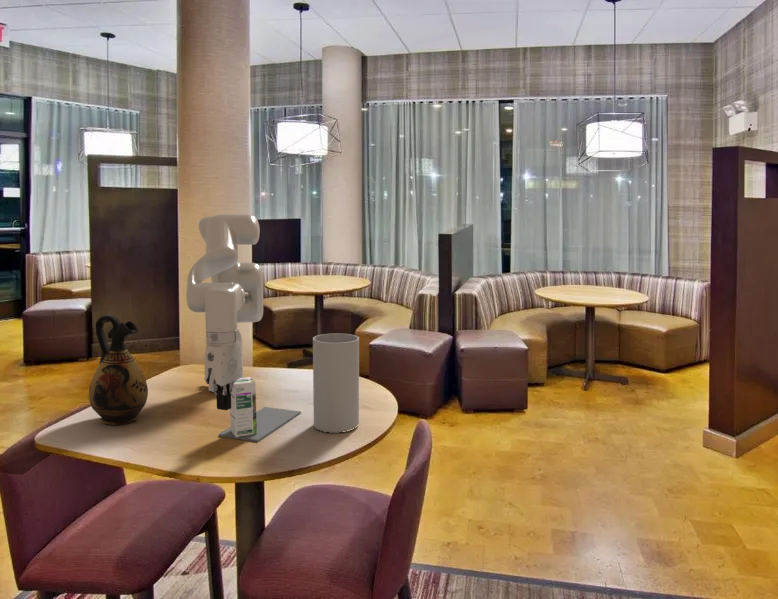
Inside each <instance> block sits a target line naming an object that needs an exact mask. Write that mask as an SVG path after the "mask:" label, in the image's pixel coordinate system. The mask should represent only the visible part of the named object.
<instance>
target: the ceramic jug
mask: <svg viewBox="0 0 778 599" xmlns="http://www.w3.org/2000/svg"><path fill="white" fill-rule="evenodd" d="M107 323H111V325H112V327H111V329H110V330H109V331H108V332H107V337H106V333H105V331H104V325H105V324H107ZM94 326H95V327H94V328H95V334H96V337H97V341H98V344H99V347H100V349H101V356H100V359H99V364H98V366H97V368H96V369H95V372H94V373H93V376H92V378H91V381H90V385H89V388H88V389H89V390H88V400H89V404H90V406H91V409H92V410H93V411H94V412H95V413H96V414H97V415H99V417H100V421H101V423H103V424H104V425H108V426H113V427H114V426H115V427H119V426H122V425H129V424H132V423H135V422H136V420H137V419H138V415H139V413H141V411H142V410H143V408H144V407H145V405H146V404H147V400H148V396H149V388H148V383H147V379H146V375H145V374H144V371H143V370H142V368H141V366H140V365H139V363H138V362H137V360H136V359H135V357H133V355H132V354H131V353H130V351H129V350H128V349H127V347H126V345H125V339H127V338H129V337H131V336H134V335H136V334H138V333H139V332H140V330H139V328H138V327H137V325H136V324H135V323H134V322H133V321H131V320H129V321H127V322H124V321H122V322H121V321H120V319H119V318H118V317H117V316H115V315H113V314H107V313H106V314H104V315H102V316H100V317H98V319H97V320H96V322H95V325H94ZM107 338H108V339H111V344H110V347H109V344H108V342H107Z"/></svg>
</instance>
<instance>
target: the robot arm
mask: <svg viewBox="0 0 778 599" xmlns="http://www.w3.org/2000/svg"><path fill="white" fill-rule="evenodd" d="M198 230H199V234H200V236H201V238H202V239H203V241H204V242H205V254H204V255H203V256H200V258H199V259H197V261H196V262H194V264H193V265H192V266H191V268H190V270H189V272H188V275H187V280H186V290H185V291H186V293H185V294H186V295H185V296H186V299H185V300H186V304H187V307H188V309H189V310H190V311H191V312H194V313H204V315H205V316H204V317H205V339H206V342H205V343H206V345H205V355H204V377H203V378H204V381H205V383H206V384H207V385H208V391H209V392H212V393H214V394H215V395H216V409H217V410H219V411H220V410H223V411H230V409H231V392H232V386H233V383H235V382H236V381H237V380H238V379H239V378H244V372H243V370H244V369H243V365H244V362H243V337H242V334H241V332H240V330H239V329H238V324H239V323H241V324H242V323H243V324H244V323H256V322H260V321H261V320H262V318H263V316H264V279H263V278H264V277H263V272H262V271H263V270H262V268H261V266H260V265H259V264H257V263H255V262H239V249H238V246H239V245H240V246H241V245H246V246H247V245H254V246H255V245H256V244H257V243H258V242H259V239H260V234H261V233H260V232H261V231H260V230H261V229H260V223H259V221H258V219H257V217H256V216H255V215H252V214H216V215H213V216H203V218H201V219H200V220H199V222H198ZM208 278H210V279H211V282H203V281H205V280H206V279H208Z"/></svg>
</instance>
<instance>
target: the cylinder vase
mask: <svg viewBox="0 0 778 599" xmlns="http://www.w3.org/2000/svg"><path fill="white" fill-rule="evenodd" d="M312 380H313V381H312V384H313V385H312V386H313V387H312V388H313V390H312V392H313V393H312V394H313V395H312V396H313V397H312V398H313V405H312V406H313V426H314V428H315V429H316V430H318V431H319V430H320V431H319V432H322V431H323V433H326V432H329V433H328V434H339V433H338V432H343V431H347V430H350V429H353V428H355V427H356V426H357V425H358V424H360V337H359V336H357V335H354V334H351V333H338V332H337V333H334V332H333V333H323V334H318V335H315V336H313V337H312ZM358 426H359V425H358ZM358 426H357V427H358ZM355 429H356V428H355Z"/></svg>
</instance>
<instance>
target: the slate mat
mask: <svg viewBox="0 0 778 599" xmlns="http://www.w3.org/2000/svg"><path fill="white" fill-rule="evenodd" d="M300 413H301V414H302V411H301V410H299V411H298V410H293V409H292V410H291V409H283V408H275V407H269V406H268V407H267V406H265V407H262V408H261V409H259V410H258V411H257V410H256V420H257V434H253V435H247V436H240V437H235V436H234V434H233V433H232V432H231V426H230V427H228V428H227V429H225V430H223V431H221V432H219V433H218V437H223V438H229V439H234V440H235V439H236V440H242V441H248V442H255V443H259V442H260V441H262V440H264V439H265V438H267V437H268V436H270V435H271V434H273V433H274V432H275V431H277V430H279V429H280V428H282V427H283V426H285V425H286V424H288V423H289V422H290V420H291V421H292V420H294V419H295V418H296V416H297V415H298V416H299V414H300ZM301 414H300V415H301ZM298 416H297V417H298ZM294 417H295V418H294ZM293 418H294V419H293Z"/></svg>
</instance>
